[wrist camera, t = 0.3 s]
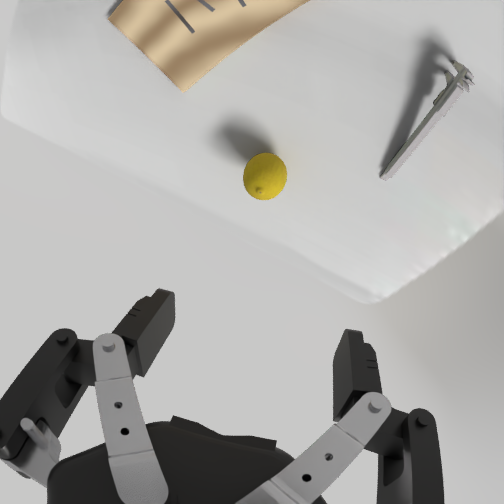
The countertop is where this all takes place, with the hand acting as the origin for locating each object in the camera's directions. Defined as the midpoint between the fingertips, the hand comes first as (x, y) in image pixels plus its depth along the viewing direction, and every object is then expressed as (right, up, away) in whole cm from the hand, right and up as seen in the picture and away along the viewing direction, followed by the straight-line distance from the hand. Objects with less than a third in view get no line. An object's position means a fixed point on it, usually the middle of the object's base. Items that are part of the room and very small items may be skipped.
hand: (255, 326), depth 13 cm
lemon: (+2, +16, +27) cm, 32 cm away
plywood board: (-3, +34, +10) cm, 36 cm away
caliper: (+21, +20, +18) cm, 35 cm away
